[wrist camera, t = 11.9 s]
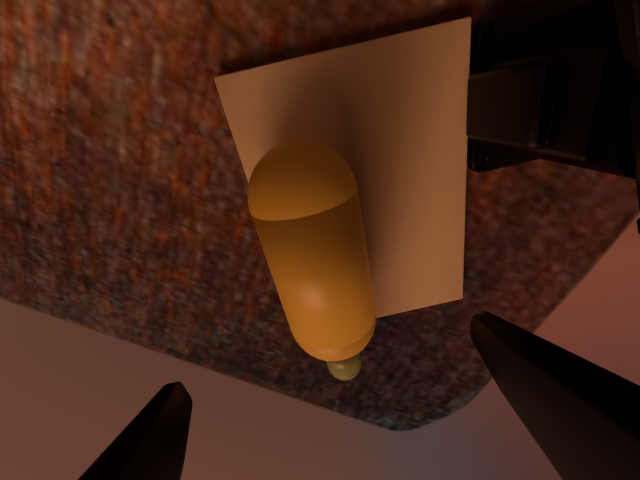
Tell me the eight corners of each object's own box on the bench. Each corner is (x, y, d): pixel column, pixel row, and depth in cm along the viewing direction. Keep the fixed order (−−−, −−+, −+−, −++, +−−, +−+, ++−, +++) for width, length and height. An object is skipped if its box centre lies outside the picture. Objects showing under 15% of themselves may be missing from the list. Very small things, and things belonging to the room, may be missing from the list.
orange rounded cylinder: (373, 335, 19) (397, 400, 15) (307, 351, 19) (312, 419, 15) (337, 124, 13) (361, 132, 9) (240, 147, 13) (218, 166, 9)
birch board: (464, 19, 12) (472, 15, 11) (458, 293, 19) (463, 298, 18) (216, 78, 12) (213, 77, 12) (298, 329, 19) (298, 335, 18)
